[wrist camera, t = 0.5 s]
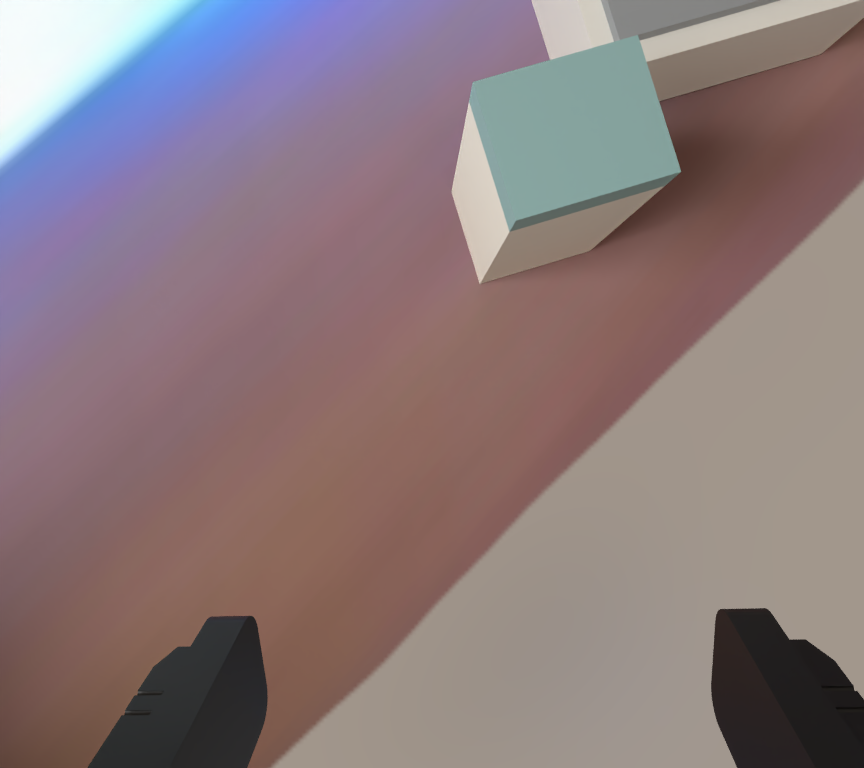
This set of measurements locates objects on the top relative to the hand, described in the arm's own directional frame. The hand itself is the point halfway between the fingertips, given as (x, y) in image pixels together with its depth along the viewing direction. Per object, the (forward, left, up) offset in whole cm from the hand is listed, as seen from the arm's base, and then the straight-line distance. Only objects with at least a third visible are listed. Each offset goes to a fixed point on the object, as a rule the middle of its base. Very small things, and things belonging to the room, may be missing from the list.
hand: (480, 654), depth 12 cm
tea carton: (-12, +8, -23) cm, 27 cm away
